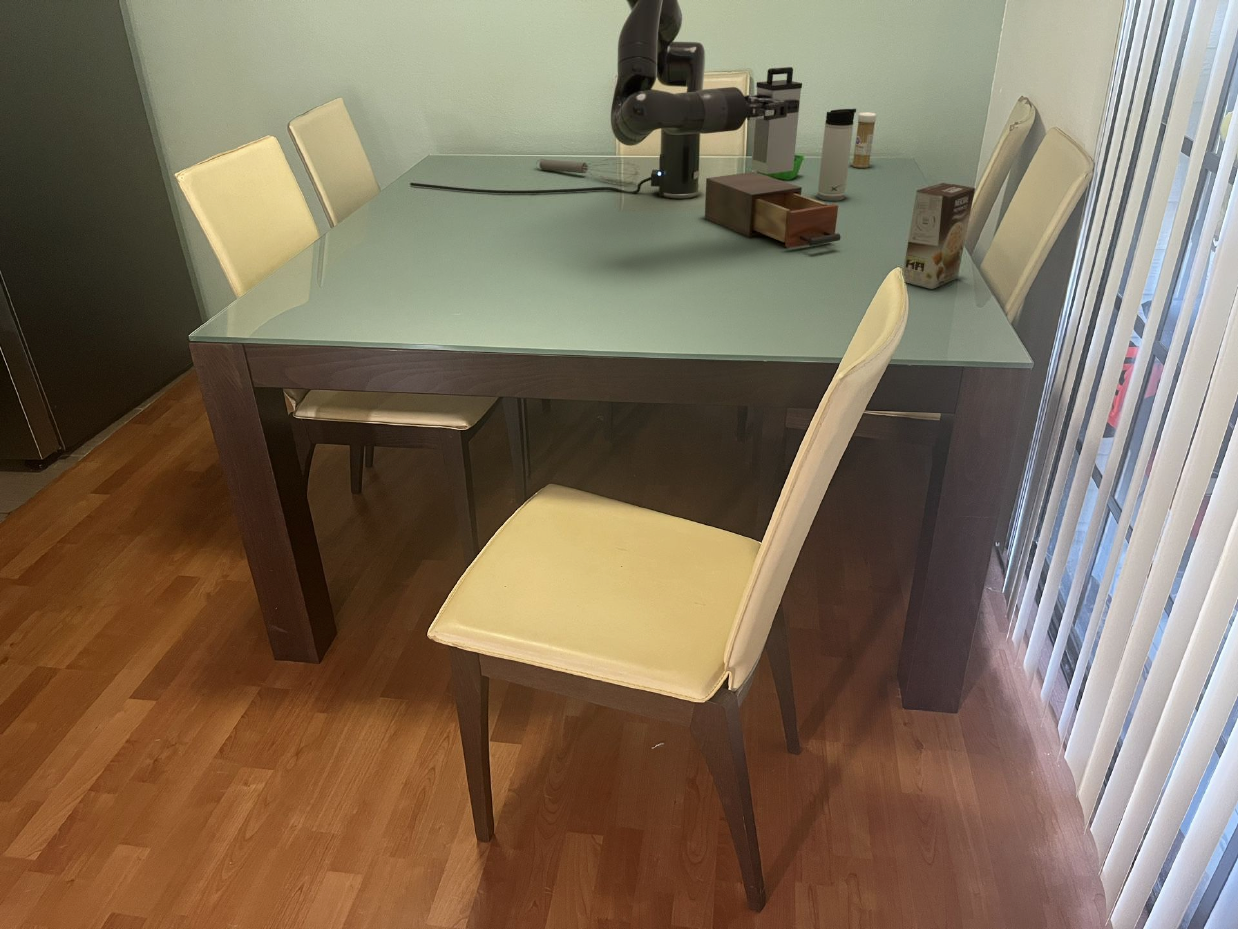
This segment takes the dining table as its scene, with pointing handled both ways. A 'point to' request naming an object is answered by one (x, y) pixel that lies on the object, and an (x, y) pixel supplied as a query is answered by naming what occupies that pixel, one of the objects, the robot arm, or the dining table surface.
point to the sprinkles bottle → (864, 140)
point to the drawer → (795, 219)
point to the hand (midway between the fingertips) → (788, 103)
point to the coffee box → (937, 234)
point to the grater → (776, 126)
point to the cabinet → (740, 199)
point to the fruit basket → (788, 174)
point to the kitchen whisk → (579, 167)
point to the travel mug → (835, 154)
